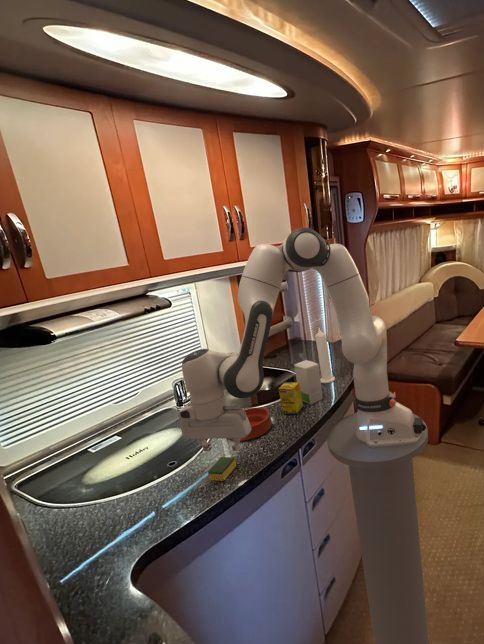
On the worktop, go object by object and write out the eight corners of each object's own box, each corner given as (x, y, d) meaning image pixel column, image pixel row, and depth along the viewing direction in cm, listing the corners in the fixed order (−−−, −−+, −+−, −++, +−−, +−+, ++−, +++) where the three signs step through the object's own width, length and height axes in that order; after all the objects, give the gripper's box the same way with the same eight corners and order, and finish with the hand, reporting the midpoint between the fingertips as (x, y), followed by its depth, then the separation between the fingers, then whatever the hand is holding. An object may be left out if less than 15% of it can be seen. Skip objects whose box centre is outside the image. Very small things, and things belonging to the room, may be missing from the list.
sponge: (236, 465, 113) (234, 457, 112) (223, 480, 106) (221, 472, 105) (223, 465, 114) (221, 456, 113) (210, 480, 107) (207, 471, 107)
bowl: (278, 419, 138) (276, 407, 137) (260, 442, 124) (257, 429, 123) (241, 419, 142) (239, 407, 141) (219, 441, 128) (216, 428, 126)
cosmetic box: (299, 400, 153) (292, 364, 148) (311, 394, 157) (305, 359, 152) (311, 405, 147) (305, 368, 142) (324, 398, 151) (318, 362, 146)
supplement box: (283, 414, 142) (278, 388, 138) (289, 407, 147) (284, 381, 144) (297, 415, 140) (292, 388, 137) (303, 407, 145) (299, 381, 142)
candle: (337, 380, 168) (329, 326, 161) (323, 385, 165) (314, 330, 157) (330, 376, 174) (323, 324, 167) (317, 380, 171) (308, 328, 163)
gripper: (249, 400, 105) (259, 443, 109) (186, 403, 109) (198, 444, 113) (237, 411, 99) (249, 456, 103) (171, 413, 104) (185, 456, 107)
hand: (222, 449), depth 108 cm, fingers open, 8 cm apart
